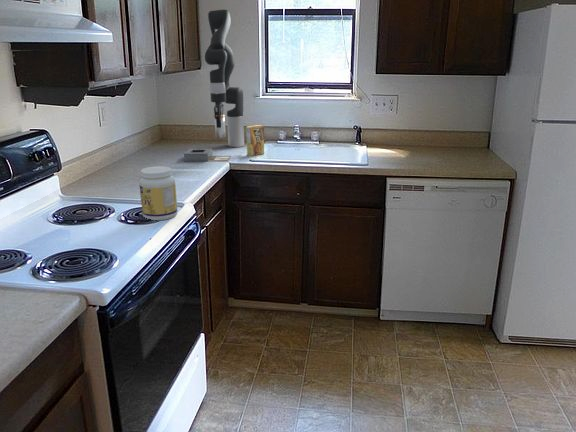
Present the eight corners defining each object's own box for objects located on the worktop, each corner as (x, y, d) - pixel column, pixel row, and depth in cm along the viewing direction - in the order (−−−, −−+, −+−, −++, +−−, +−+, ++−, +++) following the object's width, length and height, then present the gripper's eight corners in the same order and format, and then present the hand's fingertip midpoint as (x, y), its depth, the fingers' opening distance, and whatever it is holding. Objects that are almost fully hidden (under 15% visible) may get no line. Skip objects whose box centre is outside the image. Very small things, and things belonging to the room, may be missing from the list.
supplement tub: (135, 217, 184) (130, 170, 178) (163, 208, 193) (158, 163, 187) (157, 224, 177) (153, 175, 171) (185, 214, 186) (181, 168, 180)
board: (190, 157, 274) (190, 155, 274) (231, 157, 273) (231, 155, 272) (184, 163, 262) (184, 161, 261) (227, 163, 261) (227, 161, 260)
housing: (189, 156, 273) (189, 148, 272) (212, 156, 273) (211, 148, 271) (184, 161, 262) (183, 153, 261) (208, 161, 261) (207, 153, 260)
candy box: (260, 152, 284) (259, 124, 279) (264, 153, 281) (264, 125, 276) (246, 155, 279) (245, 126, 274) (251, 156, 276) (250, 127, 271)
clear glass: (216, 136, 266) (214, 114, 262) (227, 136, 265) (225, 114, 262) (214, 138, 261) (212, 116, 257) (225, 137, 260) (223, 115, 257)
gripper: (213, 90, 263) (215, 124, 268) (207, 93, 249) (209, 129, 255) (227, 90, 262) (229, 124, 268) (223, 93, 249) (224, 128, 254)
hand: (219, 126), depth 261 cm, fingers closed on clear glass, 5 cm apart
